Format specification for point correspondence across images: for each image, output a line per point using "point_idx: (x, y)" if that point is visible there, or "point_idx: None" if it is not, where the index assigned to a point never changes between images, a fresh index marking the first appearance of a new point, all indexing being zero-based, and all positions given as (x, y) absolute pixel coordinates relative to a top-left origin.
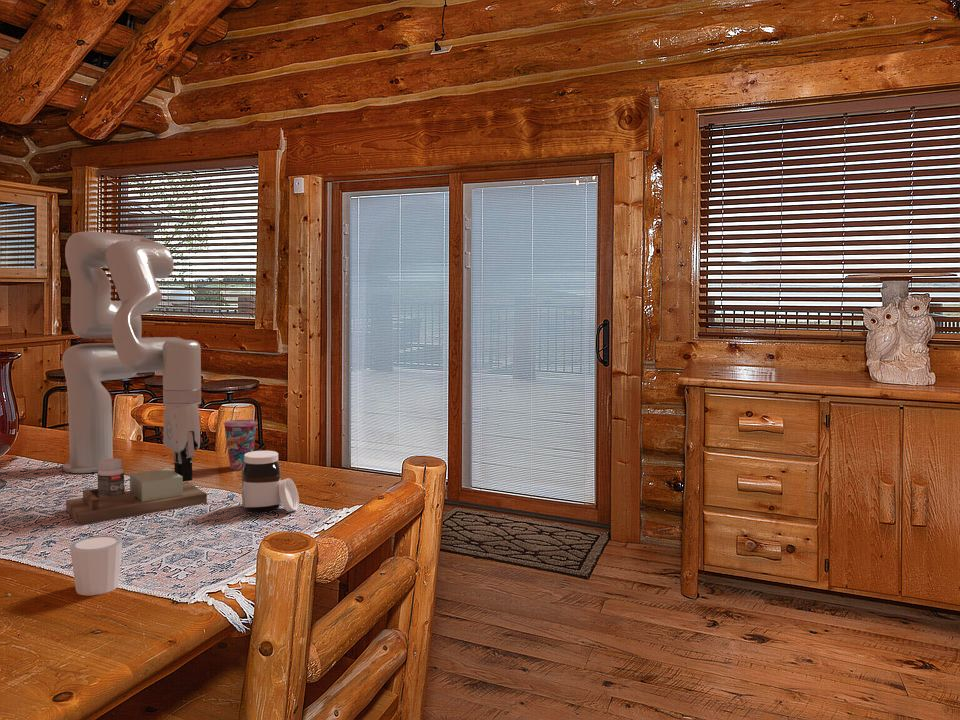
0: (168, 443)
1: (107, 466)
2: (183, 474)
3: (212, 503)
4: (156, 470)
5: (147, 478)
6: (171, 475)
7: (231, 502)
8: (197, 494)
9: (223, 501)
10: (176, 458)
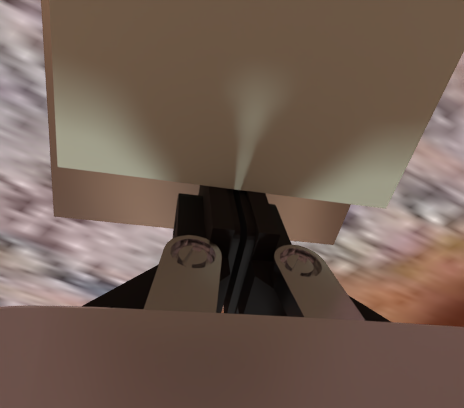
0: (388, 396)
1: None
2: (177, 211)
3: (45, 204)
4: (414, 115)
5: None
6: (162, 122)
7: (13, 259)
8: (68, 180)
9: (49, 245)
10: (278, 276)
